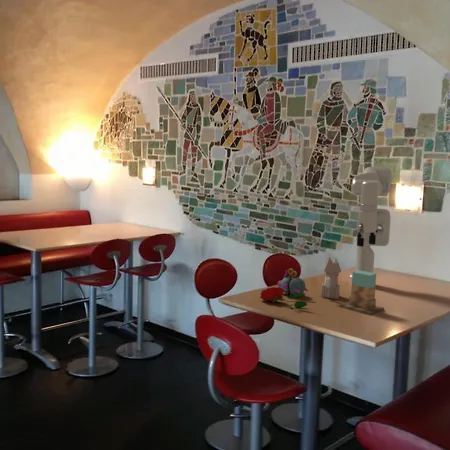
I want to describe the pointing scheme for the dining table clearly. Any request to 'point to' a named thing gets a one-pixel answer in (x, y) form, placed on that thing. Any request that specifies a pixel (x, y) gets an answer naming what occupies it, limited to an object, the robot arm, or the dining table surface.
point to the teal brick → (364, 279)
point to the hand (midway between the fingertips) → (366, 245)
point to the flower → (277, 293)
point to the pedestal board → (371, 311)
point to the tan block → (363, 292)
